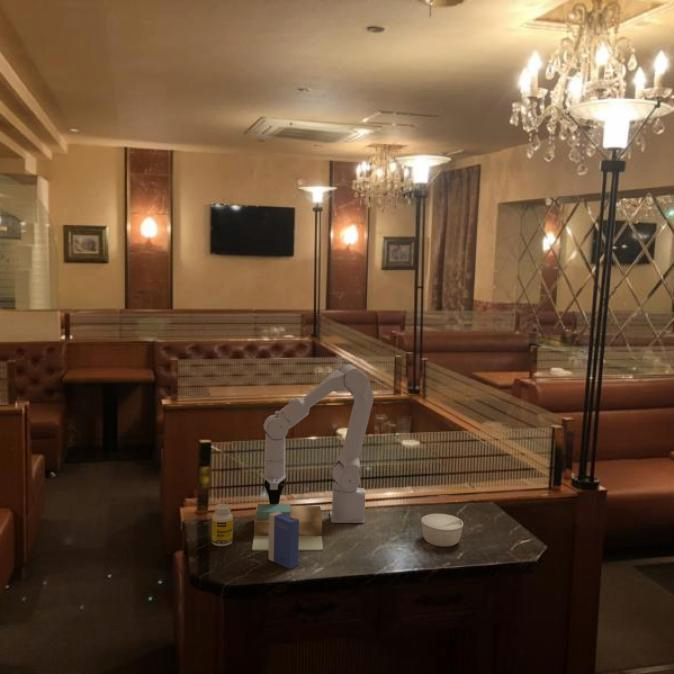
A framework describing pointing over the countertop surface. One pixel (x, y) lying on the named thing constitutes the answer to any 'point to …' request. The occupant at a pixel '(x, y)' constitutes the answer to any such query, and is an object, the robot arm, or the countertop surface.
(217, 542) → the supplement bottle
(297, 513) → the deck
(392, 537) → the countertop surface
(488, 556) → the countertop surface
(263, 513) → the sage green box
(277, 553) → the walkman
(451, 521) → the ramekin
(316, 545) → the mat
